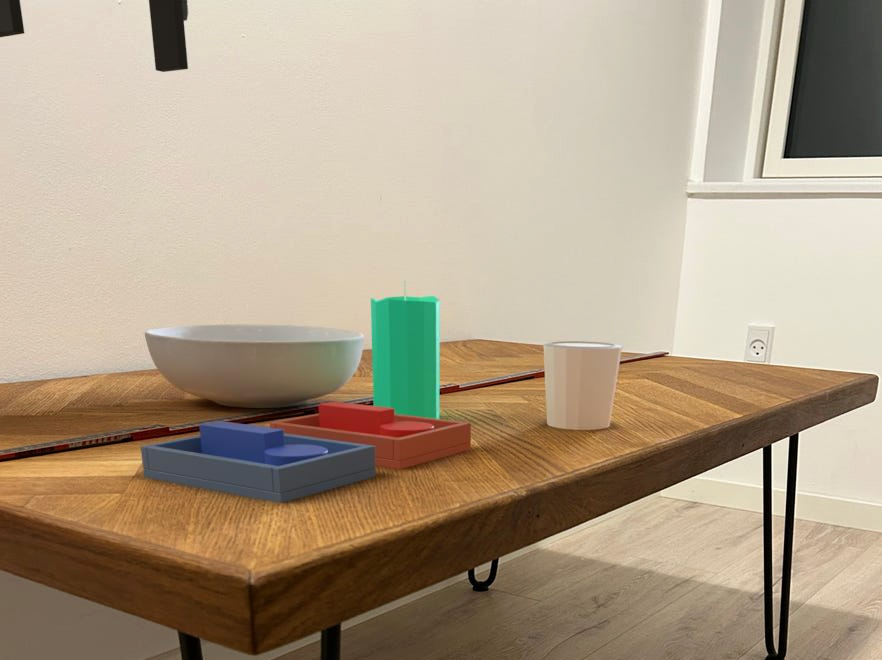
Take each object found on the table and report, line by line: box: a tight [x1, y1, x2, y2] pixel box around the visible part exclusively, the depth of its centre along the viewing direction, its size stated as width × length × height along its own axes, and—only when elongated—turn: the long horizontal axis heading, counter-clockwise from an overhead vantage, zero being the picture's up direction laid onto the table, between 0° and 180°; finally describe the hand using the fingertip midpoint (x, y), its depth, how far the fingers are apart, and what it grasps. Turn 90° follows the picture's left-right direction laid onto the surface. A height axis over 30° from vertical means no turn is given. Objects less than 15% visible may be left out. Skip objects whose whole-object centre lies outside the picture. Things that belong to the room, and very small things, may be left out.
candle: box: [370, 279, 440, 419], centre depth 84 cm, size 6×6×12 cm
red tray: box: [269, 413, 472, 470], centre depth 72 cm, size 12×9×2 cm
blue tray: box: [140, 433, 377, 504], centre depth 63 cm, size 12×9×2 cm
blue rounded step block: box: [198, 420, 328, 466], centre depth 62 cm, size 10×4×3 cm, turn 58°
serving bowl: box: [144, 323, 365, 409], centre depth 94 cm, size 21×21×7 cm
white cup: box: [542, 340, 623, 431], centre depth 84 cm, size 7×7×7 cm
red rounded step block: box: [318, 400, 434, 438], centre depth 72 cm, size 10×4×3 cm, turn 58°
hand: (95, 54), depth 66 cm, fingers open, 13 cm apart
